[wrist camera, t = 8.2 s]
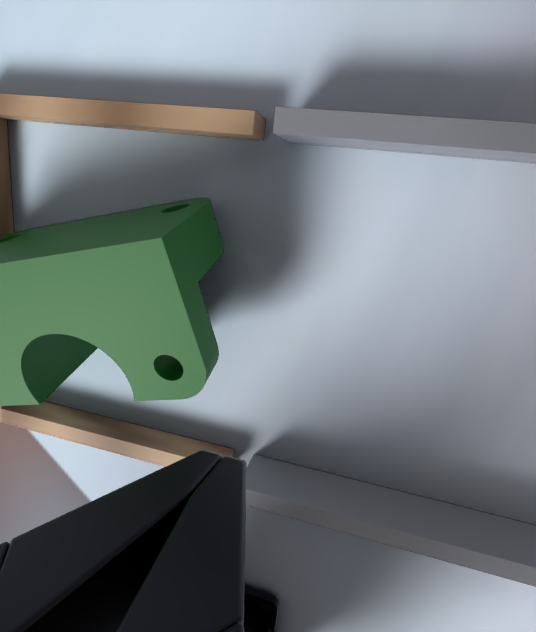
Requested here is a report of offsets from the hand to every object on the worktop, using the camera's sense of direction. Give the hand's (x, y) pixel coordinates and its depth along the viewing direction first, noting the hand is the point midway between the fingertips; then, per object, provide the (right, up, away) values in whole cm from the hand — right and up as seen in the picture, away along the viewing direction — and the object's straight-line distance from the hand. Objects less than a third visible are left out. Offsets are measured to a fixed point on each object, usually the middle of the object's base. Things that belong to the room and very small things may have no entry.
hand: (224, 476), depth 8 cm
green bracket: (-6, +4, +13) cm, 15 cm away
